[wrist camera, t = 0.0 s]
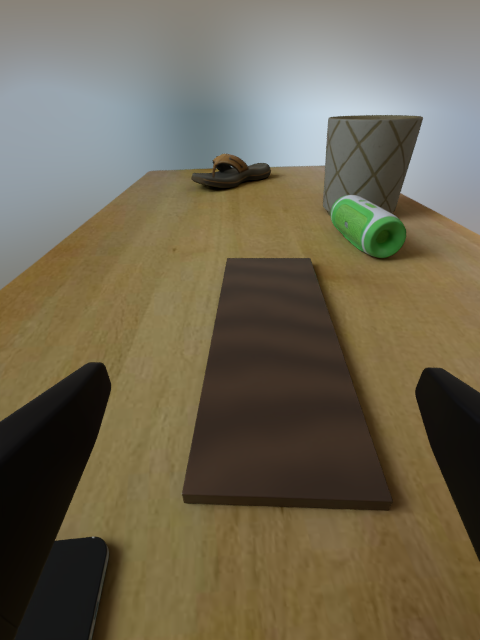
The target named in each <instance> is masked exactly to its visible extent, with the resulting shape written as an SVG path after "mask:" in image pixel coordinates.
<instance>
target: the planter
mask: <svg viewBox="0 0 480 640" xmlns="http://www.w3.org/2000/svg"><path fill="white" fill-rule="evenodd" d="M422 120H423V117H421V116H401V115H398V116H397V115H394V116H393V115H374V116H373V115H372V116H370V115H366V116H338V117H330V118H329V119H328V131H327V146H326V163H325V181H324V196H323V207H324V208H325V209H326V210H327V211H328V213H329V215H330V216H331V209H332V206H333V205H334V203H335V202H336V201H337V200H338V199H339V198H341V197H343V196H347V195H356V196H360V197H362V198H364V199H365V200H367V201H369V202H371V203H373V204H375V205H377V206H378V207H380V208H382V209H384V210H386V211H388V212H390V213H393V212H394V211H395V208H396V205H397V202H398V199H399V195H400V192H401V188H402V185H403V182H404V179H405V176H406V172H407V169H408V166H409V163H410V160H411V156H412V153H413V150H414V147H415V144H416V140H417V137H418V134H419V130H420V127H421V123H422Z"/></svg>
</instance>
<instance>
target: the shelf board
mask: <svg viewBox="0 0 480 640" xmlns="http://www.w3.org/2000/svg"><path fill="white" fill-rule="evenodd" d="M182 496H183V500H184V503H198V504H226V505H254V506H282V507H310V508H338V509H366V510H389V509H390V506H391V504H392V502H393V501H392V498H391V495H390V492H389V489H388V486H387V483H386V480H385V477H384V474H383V471H382V468H381V465H380V462H379V459H378V456H377V453H376V450H375V448H374V445H373V442H372V439H371V436H370V433H369V430H368V427H367V424H366V421H365V418H364V415H363V412H362V409H361V406H360V403H359V400H358V397H357V395H356V392H355V389H354V386H353V383H352V380H351V377H350V374H349V371H348V368H347V365H346V362H345V359H344V356H343V353H342V350H341V347H340V344H339V342H338V339H337V336H336V333H335V330H334V327H333V324H332V321H331V318H330V315H329V312H328V309H327V306H326V303H325V300H324V297H323V294H322V291H321V289H320V286H319V283H318V280H317V277H316V274H315V271H314V268H313V265H312V262H311V259H310V258H227V262H226V267H225V272H224V278H223V283H222V288H221V293H220V298H219V304H218V309H217V314H216V319H215V325H214V330H213V335H212V340H211V345H210V351H209V356H208V361H207V366H206V371H205V377H204V382H203V387H202V392H201V398H200V403H199V408H198V413H197V418H196V424H195V429H194V434H193V439H192V444H191V450H190V455H189V460H188V465H187V470H186V476H185V481H184V486H183V491H182Z"/></svg>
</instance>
